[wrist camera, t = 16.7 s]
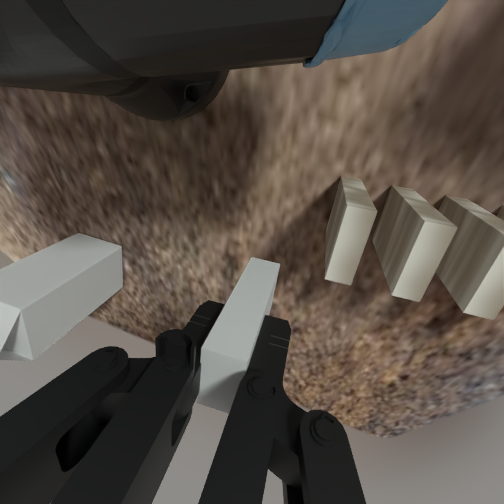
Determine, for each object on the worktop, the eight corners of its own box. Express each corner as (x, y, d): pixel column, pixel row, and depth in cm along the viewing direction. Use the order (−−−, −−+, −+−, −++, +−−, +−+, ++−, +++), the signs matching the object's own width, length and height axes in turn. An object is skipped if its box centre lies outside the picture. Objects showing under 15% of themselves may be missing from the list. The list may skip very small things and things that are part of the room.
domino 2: (371, 239, 31) (391, 295, 21) (391, 185, 28) (424, 221, 18) (390, 243, 30) (419, 302, 21) (412, 189, 28) (457, 227, 18)
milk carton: (78, 232, 40) (-97, 312, 24) (123, 245, 40) (-27, 339, 23) (83, 273, 44) (-68, 368, 27) (124, 286, 43) (-6, 394, 26)
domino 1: (326, 229, 32) (324, 279, 22) (341, 175, 29) (347, 205, 19) (344, 233, 31) (350, 285, 22) (361, 179, 28) (377, 211, 19)
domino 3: (420, 249, 30) (463, 312, 20) (445, 195, 27) (509, 238, 18) (439, 254, 30) (493, 320, 20) (467, 199, 27) (544, 245, 17)
